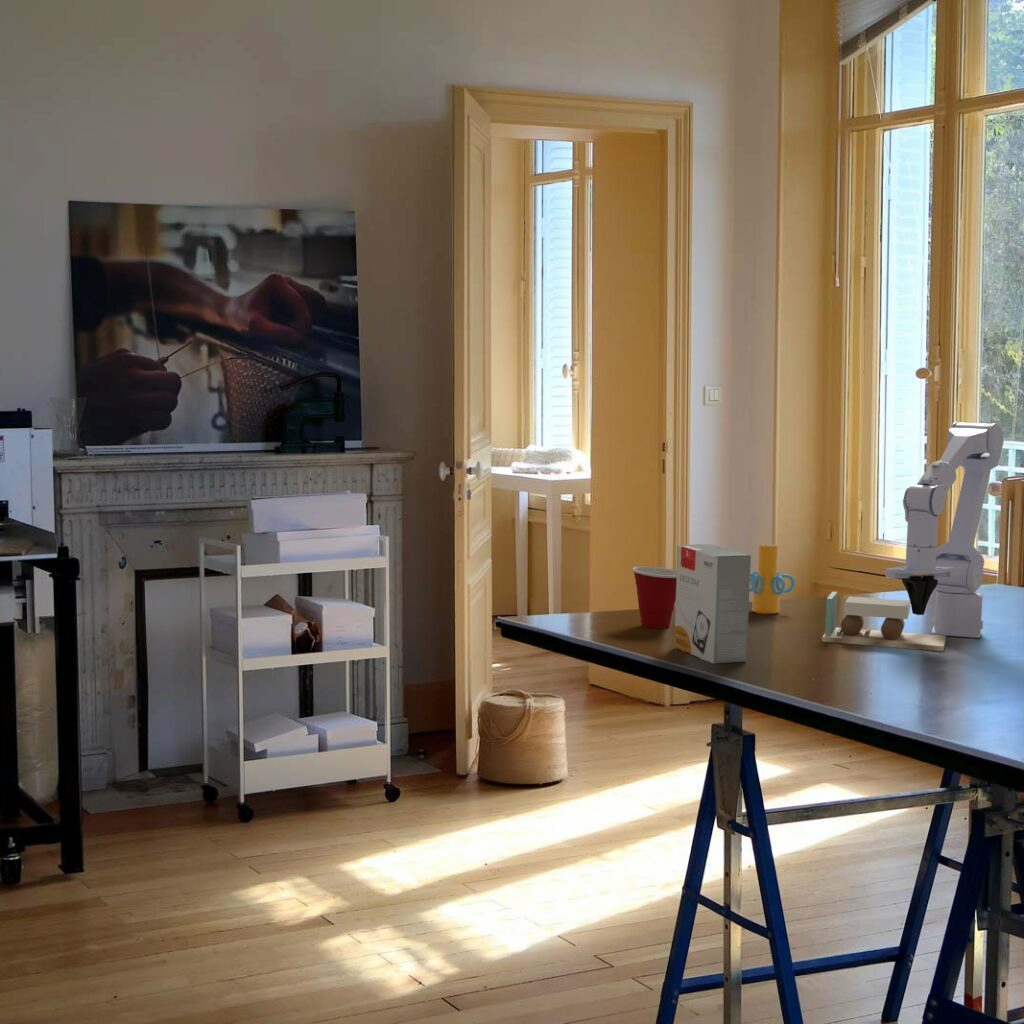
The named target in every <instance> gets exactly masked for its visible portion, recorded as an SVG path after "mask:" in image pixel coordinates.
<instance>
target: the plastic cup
mask: <svg viewBox="0 0 1024 1024" xmlns="http://www.w3.org/2000/svg"><path fill="white" fill-rule="evenodd" d="M632 572H633V575H634V579H635V586H636V592H637V603H638V611H639V615H640V624H641V626H642V627H643V628H646V629H657V628H664V629H668V628H670V625H671V622H672V617H673V612H674V610H675V604H676V575H677V569H676V570H675V569H670V568H665V567H656V566H634V567H632ZM667 627H668V628H667Z"/></svg>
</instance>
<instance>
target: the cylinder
mask: <svg viewBox="0 0 1024 1024" xmlns="http://www.w3.org/2000/svg"><path fill="white" fill-rule="evenodd" d="M757 566H758V568H757V570H754V571H752V572H750V589H749V593H750V592H752V603H751V604H752V605H751V606H752V607H751V610H752V612H754V613H757V614H762V615H763V614H764V615H774V614H779V613H780V607H781V605H780V604H781V595H783V594H788V593H791V592H792V591H793V590H794V588H795V586H796V583H795V579H794V577H793V576H792V575H791V574H788V573H783V574H780V573H779V572H778V571H777V569H778V544H775V543H774V544H773V543H772V544H771V543H760V544H759V545H758V565H757ZM784 578H787V579H789V580H790V583H791V584H790V586H789V588H787V589H786V582H785V579H784Z"/></svg>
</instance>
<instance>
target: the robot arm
mask: <svg viewBox="0 0 1024 1024" xmlns="http://www.w3.org/2000/svg"><path fill="white" fill-rule="evenodd" d="M1003 445H1004V433H1003V429H1002V427H1001V425H1000V424H999V423H997V422H996V423H995V422H992V423H983V422H982V423H980V422H979V423H978V422H977V423H976V422H961V421H954V422H953V423H952V424H951V425H950V426H949V429H948V431H947V446H946V447H945V449H944V452H943V453H942V456H941V457H940V459H939V460H936V461H933V462H932V463H931V464H930V465H929V466H928V467H927V469H926V470H925V472H924V473H923V474H922V476H921V478H920V479H919V480H918V482H917V483H916V484H911V485H910V486H908V487H907V488H906V489H905V492H904V495H903V499H902V505H903V510H904V514H905V515H904V519H905V521H906V523H907V530H906V548H905V549H906V550H905V565H904V566H897V567H887V568H885V579H889V580H896V579H901V581H902V584H903V586H904V587H905V590H906V593H907V595H908V598H909V601H910V609H911V611H912V612H911V613H912V614H913V615H917V616H924V615H925V613H926V608H927V605H928V603H929V601H930V597H931V596H932V594H933V592H934V591H935V592H936V593H935V610H934V626H932V630H931V635H942V636H946V637H947V636H948V637H961V638H974V639H980V638H981V630H983V627H984V620H982V617H983V616H982V612H983V598H984V597H983V595H984V594H983V593H982V592H977V591H978V590H979V589H980V587H981V586H982V583H983V579H984V565H985V559H984V557H983V555H982V553H980V551H978V550H977V548H976V547H975V546H974V545H975V541H976V536H977V532H978V527H979V524H980V523H979V522H980V519H981V514H982V510H983V506H984V501H985V497H986V493H987V487H988V484H989V483H988V482H989V479H990V474H991V470H993V469H994V468H996V467H998V465H999V463H1000V459H1001V455H1002V451H1003ZM959 467H962V468H963V470H964V474H963V479H962V483H961V487H960V491H959V495H958V500H957V505H956V509H955V514H954V518H953V520H952V521H953V522H952V525H951V529H950V530H951V531H950V535H949V540H948V541H947V542H946V543H943V544H942V545H940V546H939V547H937V545H938V527H939V515H941V514H942V512H943V510H944V508H945V504H946V500H947V498H948V494H947V493H948V492H949V491H950V489H951V487H952V486H953V484H954V483H955V482H956V480H957V472H956V470H957V469H958V468H959Z"/></svg>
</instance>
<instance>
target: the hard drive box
mask: <svg viewBox="0 0 1024 1024" xmlns="http://www.w3.org/2000/svg"><path fill="white" fill-rule="evenodd" d="M676 546H677V547H676V548H677V550H676V555H677V556H676V571H677V575H676V600H675V605H674V610H675V611H674V633H673V634H674V636H673V638H674V640H673V641H674V642H673V646H674V648H676V649H678V650H680V651H681V652H683V653H687V654H689V655H692V656H695V657H697V658H699V659H700V660H702V661H706V662H708V663H710V664H725V663H741V662H742V663H743V662H747V658H748V656H747V655H748V639H749V638H748V635H749V634H748V632H749V610H750V592H749V589H750V588H751V583H750V573H751V565H752V564H751V559H752V556H751V555H750V554H747V553H743V552H740V551H738V550H737V551H736V550H733V549H729V548H726V547H721V546H718V545H716V544H710V543H707V544H706V543H703V544H677V545H676Z"/></svg>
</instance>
